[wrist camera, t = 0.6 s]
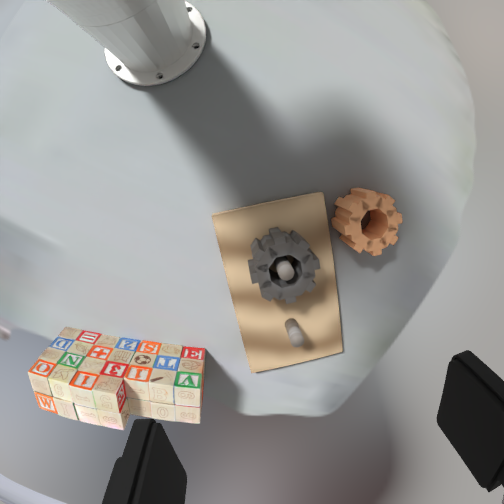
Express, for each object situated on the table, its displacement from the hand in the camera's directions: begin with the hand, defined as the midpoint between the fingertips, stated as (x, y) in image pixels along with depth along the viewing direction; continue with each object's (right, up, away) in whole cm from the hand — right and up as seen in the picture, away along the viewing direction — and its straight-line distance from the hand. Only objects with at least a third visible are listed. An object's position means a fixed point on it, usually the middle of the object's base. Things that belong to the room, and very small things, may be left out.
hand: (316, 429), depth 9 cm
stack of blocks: (-19, -9, +34) cm, 40 cm away
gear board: (+2, +1, +32) cm, 32 cm away
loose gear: (+11, +10, +30) cm, 34 cm away
